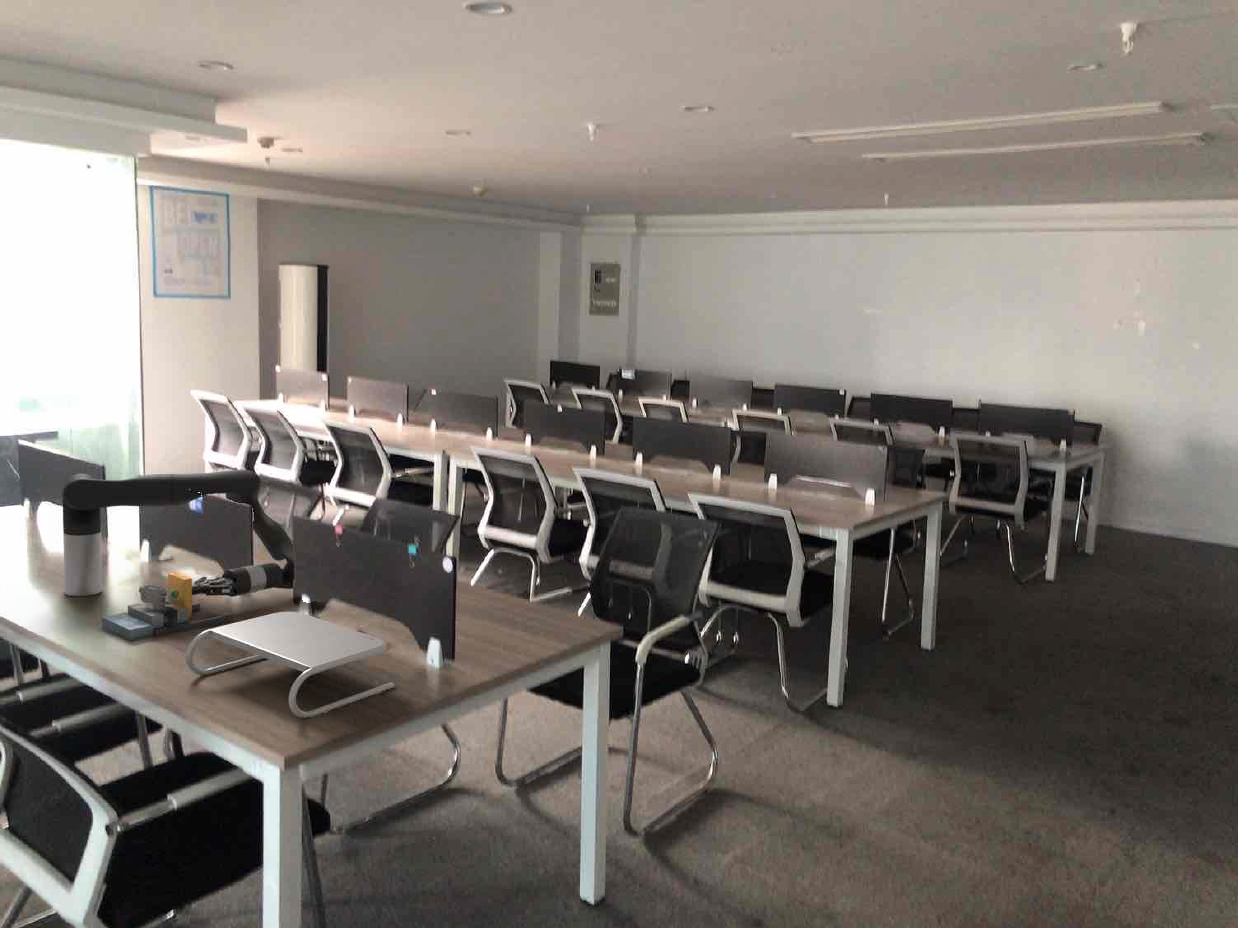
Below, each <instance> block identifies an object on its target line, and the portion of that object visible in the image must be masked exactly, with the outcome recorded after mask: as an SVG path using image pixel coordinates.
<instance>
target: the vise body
mask: <svg viewBox="0 0 1238 928" xmlns="http://www.w3.org/2000/svg"><path fill="white" fill-rule="evenodd" d="M200 609H201V603H200V602H195V603H194V602H192V611H197V610H200ZM226 622H227V623H228V622H231V615H230V614H222V615H219V616H213V617H209V618H204V619H199V620H194V621H192V622H190V623H185V624H180V625H176V626H168V627H164V625H165V624H164V614H163V613H160V612H158V611H156V610H153V608H152V607H151V608H150V607H149V606H146V605H144V604H141V603H134V604H130V605H127V612H126V611H125V612H121V613H116V614H111V615H106V616H105V615H104V616H101V629H102V630H104V631H106V632H108V633H110V634H113V635H114V636H117V637H119V638H120V639H123V640H125V641H127V642H130V643H131V642H135V641H140V640H141V641H142V640H145V639H150V638H158V637H164V636H168V634H169V635H172V634H177V633H181V632H185V631H186V632H187V631H190V630H195V629H196V630H197V629H200V628H203V627H204V628H205V627H209V626H213V624H214V625H217V624H218V625H219V624H223V623H226Z"/></svg>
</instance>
